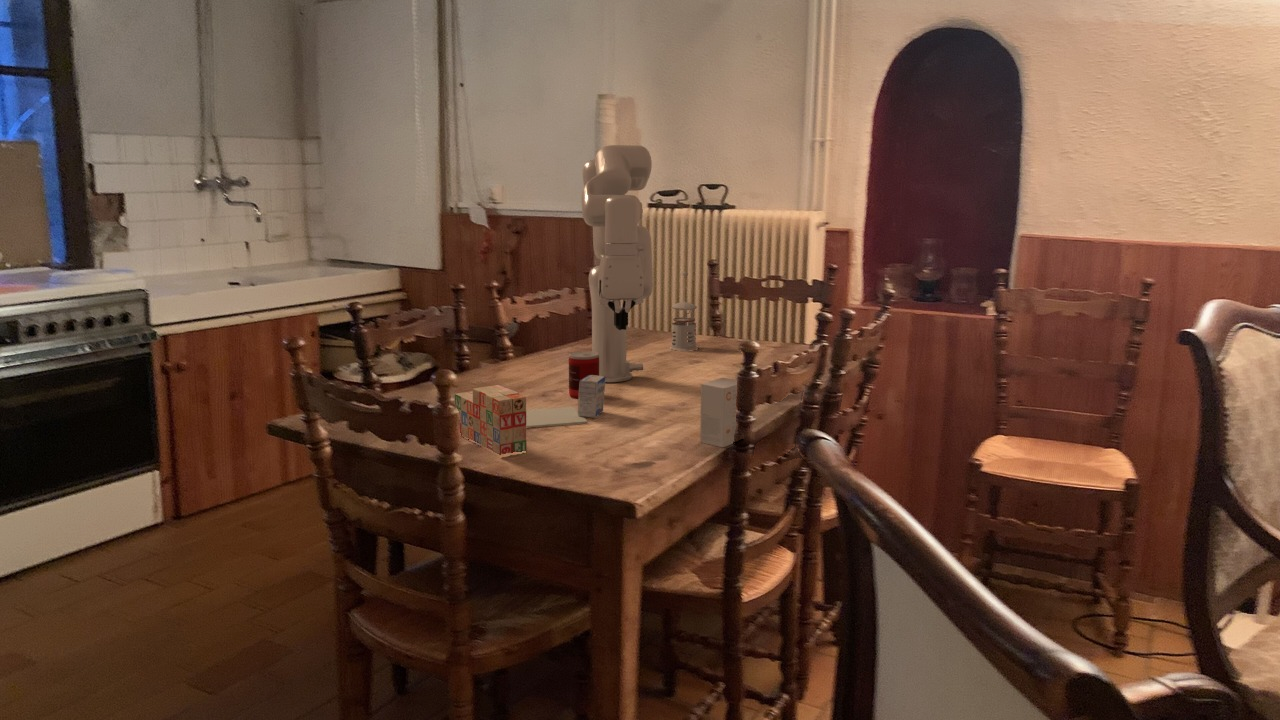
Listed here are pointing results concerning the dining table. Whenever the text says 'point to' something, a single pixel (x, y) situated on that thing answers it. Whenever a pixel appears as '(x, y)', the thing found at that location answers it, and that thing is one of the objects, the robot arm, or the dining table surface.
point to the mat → (553, 417)
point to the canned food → (581, 369)
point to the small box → (718, 412)
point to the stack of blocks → (493, 418)
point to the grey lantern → (684, 327)
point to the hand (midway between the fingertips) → (621, 328)
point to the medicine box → (591, 396)
